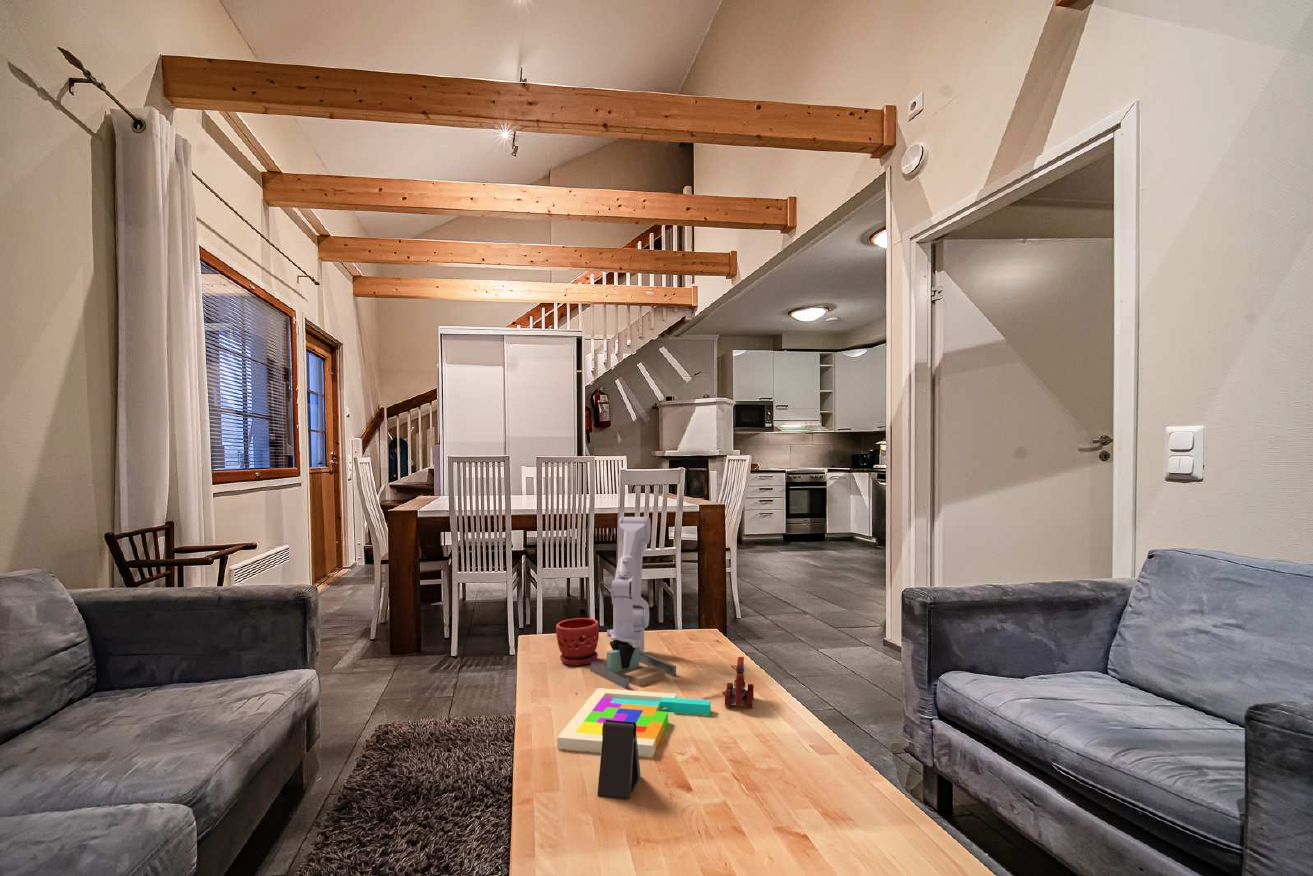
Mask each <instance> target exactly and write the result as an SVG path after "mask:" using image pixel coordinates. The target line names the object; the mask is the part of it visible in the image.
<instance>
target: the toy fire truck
mask: <svg viewBox="0 0 1313 876" xmlns="http://www.w3.org/2000/svg"><path fill="white" fill-rule="evenodd" d="M744 663H745V658H744V656H737V664H736V669H735V671H736V675H735V680H734V681H733V682H727V683H726V689H725V691H724V707H726V708H731V707H732V705H735V707H743V703H745V708H746V709H753V701H754V700H755V699H754V697H755V696H754V693H755V692H754V691H755V689H754V688H755V687H754V684H753V683H748V684H747V685H746V681H745V677H746V676H745V675H744V674H745V666H744V665H745V664H744ZM746 686H747V689H745V688H746Z"/></svg>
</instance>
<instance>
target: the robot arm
mask: <svg viewBox="0 0 1313 876" xmlns="http://www.w3.org/2000/svg"><path fill="white" fill-rule="evenodd" d="M651 524H652V522H651V518H650V517H649V516H623V515H622V516H620V518H619V519H618V528H617V530H618V533H619V536H620V539H621V542H622V556H620V558H618V560H617V563H616V564H617V566H616V570H615V576H614V579H612V581H611V584H610V596H611V604H612V607H613V608H612V609H613V614H612V615H613V617H612V618H613V620H612V621H613V623H612V624H613V625H612V629H607V630H606V636H607V638H610V640H611V641H609V646H611V649H612V650H616V649H619V651H620V656H621V665H622V668H623V669H625V668H629V666H630V662H631V658H632V655H633V652H634V650H635V648H636V647H639V651H641V652H643V653H645V629H647V628H648V626H649V623H650V604H649V602H648V601H647V600H645V599H644V598H643V597H642V577H643V558H644V557H643V556H644V553H643V552H644V550H645V549H644V548H645V546H646V545H648V544H650V540H651V532H652V531H651V527H652V525H651Z"/></svg>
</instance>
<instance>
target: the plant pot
mask: <svg viewBox="0 0 1313 876" xmlns="http://www.w3.org/2000/svg"><path fill="white" fill-rule="evenodd" d="M599 626H600V625H599V621H598V620H597V619H593V618H588V617H579V618H577V617H575V618H571V619H570V618H569V619H565V620H562V621H559V622H558V623H557V624H556V626H555V630H556V631H555V632H556V635H555V636H556V641H557V646H558V649H559V652H560V653H561V654H560V656H559V659H560V661H561V662H562V664H563V663H564V664H565V665H569V666H575V667H577V666H584V665H588V664H591V662H592V661H595V662H596V660H597V659H598V655H599V652H597V651H596V650H597V647H598V643H599V635H600V634H599V633H600V631H599V630H600V627H599Z"/></svg>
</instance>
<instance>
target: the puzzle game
mask: <svg viewBox="0 0 1313 876" xmlns="http://www.w3.org/2000/svg"><path fill="white" fill-rule="evenodd" d="M677 695H678V693H675V692H674V693H673V692H661V691H660V692H657V691H642V690H629V689H614V688H613V689H612V688H601V687H599V688H596V689H595V691H594V692H593V693H592V694H591V696H590V697H589V698H588V699H587V700H586V702H585V703H584V704H583V705H582V707H581V708H580V709H579V710H578V712H577V713H575V715H574V716H573V718H571V720H570V721H569V722H568V723H567V725H566V726H565V727H564V728H563V730H562V731H561V732H560V733H559V734H558V736H557V737H556V749H557V750H563V749H566V750H565V751H574V750H575V751H574V752H585V751H591V752H590V753H596V752H601V750H602V728H603V723H604V722H606V721H605V720H615V721H626V722H636V727H637V729H636V736H637V746H638V755H639V757H640V756H642V757H641V758H653V757H654V756H655V753H656V750H657V749H658V747H657V746H659V744H660V741H662V738H661V737H663V736H664V733H665V731H666V729H667V727H668V724H669V712H673V714H682V713H684V714H685V715H695V714H706V715H705V716H708V715H709V716H710V713H711V711H710V710H712V709H711V707H712V706H711V702H712V701H711V700H709V699H708V700H707V699H695V698H694V699H693V698H682V697H678V696H677ZM661 707H666V708H662V709H660V708H661ZM665 728H666V729H665Z"/></svg>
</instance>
